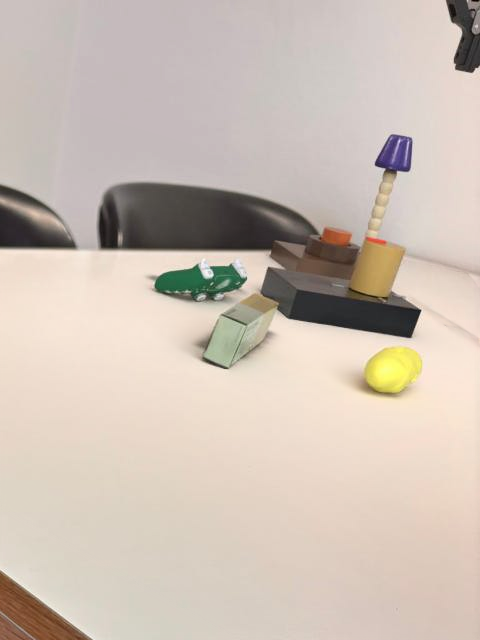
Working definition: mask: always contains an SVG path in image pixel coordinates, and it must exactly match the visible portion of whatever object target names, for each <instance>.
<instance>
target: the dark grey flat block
mask: <svg viewBox="0 0 480 640" xmlns="http://www.w3.org/2000/svg"><path fill="white" fill-rule="evenodd" d="M349 283H350V280H345V279H339V278H333V277H327V276H321V275H316V274H310V273H304V272H298V271H292V270H287V269H285V268H280V267H279V268H278V267H273V266H267V268H266V272H265V275H264V279H263V282H262V286H261V289H260V292H259V293H260V294H259V295H261V296H262V295H263V296H264V297H266V298H268V299H271V300H273V301H275V302H278V303H279V305H278V307H277V310H278V311H279V312H281V313H282V314H283V315H284V317H286V318H287V319H289V320H297V321H302V322H308V323H309V322H310V323H315V324H322V325H328V326H333V327H340V328H345V329H346V328H347V329H351V330H352V329H353V330H357V331H358V330H359V331H364V332H365V331H367V332H371V333H378V334H384V335H389V336H390V335H391V336H396V337H403V338H408V339H412V338H413V335H414V332H415V330H416V327H417V323H418V321H419V319H420V316H421V313H422V309H421V308H420V307H418V306H416V305H415V304H413V303H412V302H410V301H409V300H407V299H406V298H407V297H406V296H405V295H400V294H397V293H396V292H394V291H393V290H391V292H390V295H389V297H376V296H371V295H367V294H363V293H360V292H357V291H355V290H353V289H351V288H350V287H349Z"/></svg>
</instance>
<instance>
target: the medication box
mask: <svg viewBox="0 0 480 640" xmlns="http://www.w3.org/2000/svg"><path fill="white" fill-rule="evenodd" d="M278 305H279V303H278V302H275V301H273V300H271V299H268V298H266V297H264V296H262V294H259V293H256V292H254V293H252V294H251V295H249V296H247V297H246V298H244V299H243V300H241V301H240V302H238V303H237V304H235V305H234V306H232V307H230V308H229V309H227V310H225V311H223V312H222V313H220V314H219V315H218V318H217V320H216V322H215V325H214V327H213V329H212V331H211V333H210V336H209V338H208V341H207V343H206V345H205V349H204V352H203V354H202V356H201V359H202V360H205V361H207V362H209V363H211V364H213V365H215V366H218V367H220V368H223V369H226V370H229V369H230V367H231V366H233V364H235V363H236V362H237V361H239V360H240V359H242V357H244V356H245V355H246V354H248V353H249V352H250V351H252V350H253V349H254V348H255V347H257V346H258V345H259V344H261V342H263V340H264V338H265V337H266V334H267V333H268V330H269V329H270V327H271V324H272V322H273V319H274V316H275V314H276V312H277V310H278V309H277V307H278Z"/></svg>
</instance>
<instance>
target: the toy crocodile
mask: <svg viewBox="0 0 480 640" xmlns="http://www.w3.org/2000/svg"><path fill="white" fill-rule="evenodd" d="M247 280H248V273H247V270H246V268H245V265H244V264H243V262H242V261H241V259H240V258H239V257H236V258H235V259H234V261H233V262H231V263H229V265H210V263H209V261H208V259H207V258H206V257H203V258H201V259H200V262H198V263H196V264H195V265H194V266H192V267H191V268H185V269H177V270H170V271H165V272H163V273H162V274H160V275H158V277H157V278H156V279H155V282H154V284H153V287H154V289H155V290H156V291H157V290H159V291H162V292H161V293H163V292H166V293H165V294H169V293H171V294H170V295H190V297H192V298H193V299H195V301H197V302H199V301H198V300H201V301H203V300H206V298H207V295H208V296H209V297H210V298H211V299H213V300H214V301H220V300H222V299H223V298H224V296H225V295H224V294H225V293H231V292H233V291H235V290H239V289H241V288H242V287H243V285H244V284H245V283H246V282H247ZM159 291H158V292H159Z"/></svg>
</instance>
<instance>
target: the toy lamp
mask: <svg viewBox="0 0 480 640" xmlns="http://www.w3.org/2000/svg"><path fill="white" fill-rule="evenodd" d="M413 141H414V140H413V138H412V137H411V136H407V135H401V134H395V133H392V134H390V135H389V136H388V138H387V139H386V141H385V143H384V145H383V146H382V148H381V150H380V152H379V153H378V155H377V157H376V159H375V161H374V166H375V167H376V168H381V169H384V171H383V173H382V181H381V182H380V184H379V186H378V193H377V195H375V196H376V197H375V199H374V204H375V205H373V207H372V209H371V212H370V214H371V216H370V218H369V220H368V222H367V229H366V231H365V233H364V239H366V237H370V238H375V239H379V230H380V229H381V228H382V225H383V218H384V217H385V215H386V209H387V208H386V207H387V205H388V204H389V201H390V194H391V193H392V191H393V188H394V182H395V181H396V179H397V176H398V172H401V173H409V172H411V168H412V158H413V144H414V142H413ZM362 245H363V243H362V244H361V246H362ZM359 254H360V251H359ZM359 254H358V255H359Z"/></svg>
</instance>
